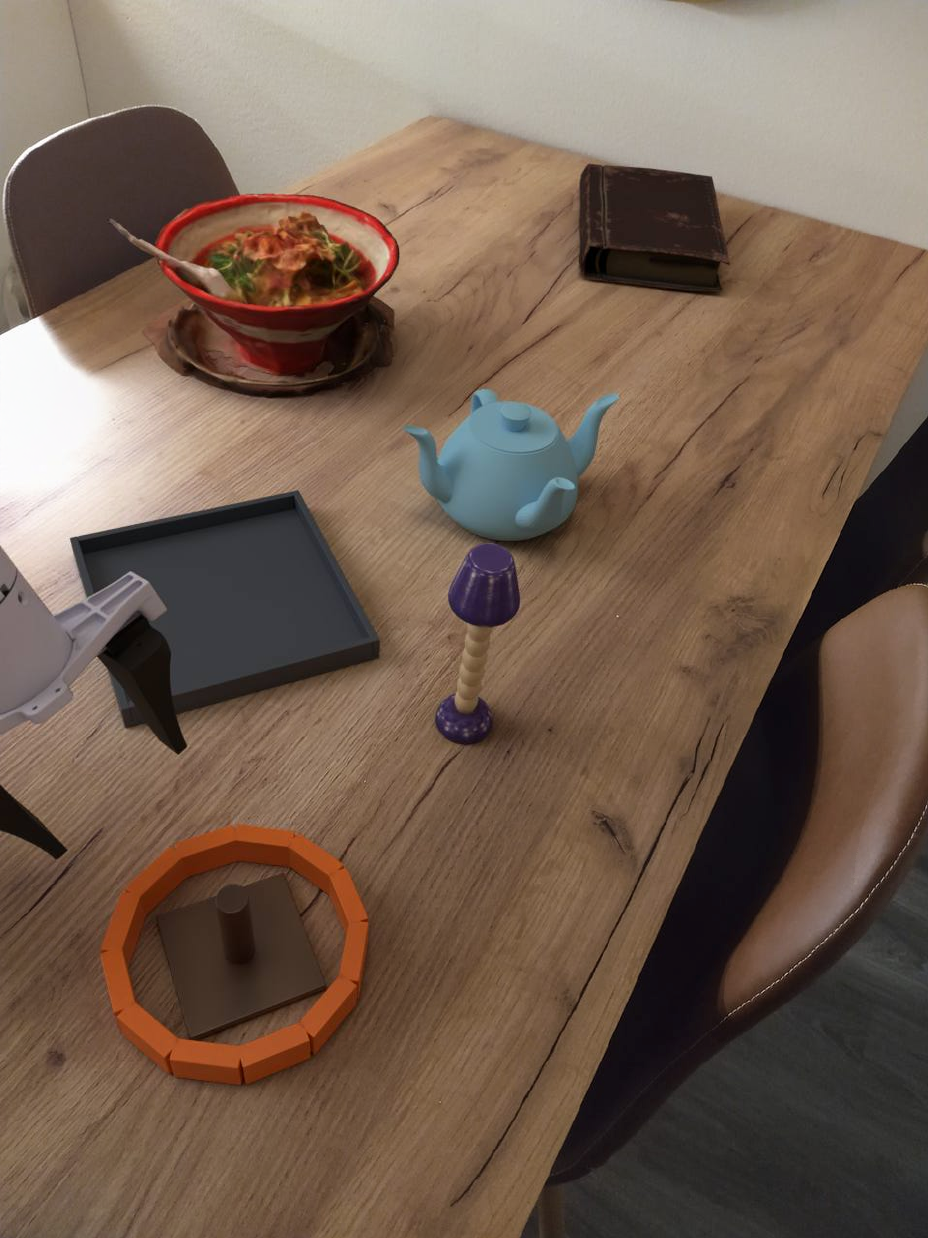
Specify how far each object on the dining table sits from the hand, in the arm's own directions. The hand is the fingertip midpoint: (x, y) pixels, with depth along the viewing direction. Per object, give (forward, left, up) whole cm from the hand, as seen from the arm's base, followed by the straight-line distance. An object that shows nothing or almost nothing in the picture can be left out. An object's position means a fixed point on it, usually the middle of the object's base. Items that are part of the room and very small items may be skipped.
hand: (115, 793), depth 53 cm
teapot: (+38, +28, -13) cm, 49 cm away
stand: (+4, -4, -13) cm, 14 cm away
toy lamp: (+24, +7, -13) cm, 28 cm away
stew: (+26, +60, -13) cm, 66 cm away
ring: (+4, -4, -13) cm, 14 cm away
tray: (+11, +25, -13) cm, 30 cm away
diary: (+81, +71, -13) cm, 109 cm away
